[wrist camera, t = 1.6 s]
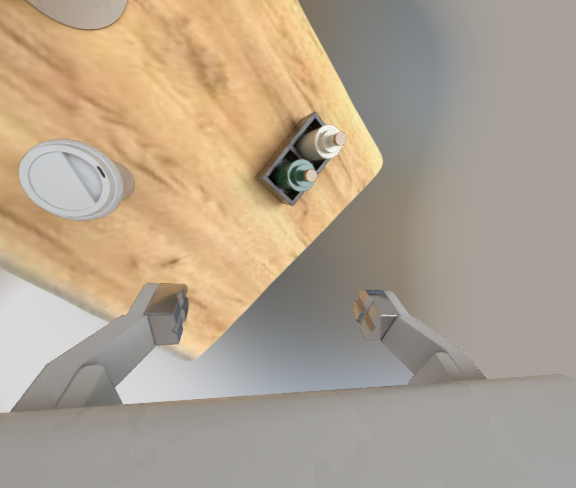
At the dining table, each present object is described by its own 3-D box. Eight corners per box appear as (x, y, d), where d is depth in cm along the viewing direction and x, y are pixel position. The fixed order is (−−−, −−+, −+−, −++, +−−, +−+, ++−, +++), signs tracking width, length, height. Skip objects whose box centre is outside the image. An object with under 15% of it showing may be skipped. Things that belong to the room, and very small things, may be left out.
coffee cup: (147, 208, 41) (123, 223, 28) (83, 207, 38) (20, 224, 25) (141, 154, 39) (112, 142, 26) (71, 148, 35) (-5, 129, 22)
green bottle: (267, 167, 47) (291, 163, 34) (290, 159, 48) (322, 152, 36) (275, 192, 49) (301, 197, 37) (297, 184, 50) (329, 186, 38)
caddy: (283, 203, 51) (292, 206, 46) (254, 177, 47) (261, 177, 42) (326, 148, 51) (341, 145, 46) (302, 118, 47) (315, 111, 42)
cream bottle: (289, 138, 47) (322, 124, 34) (312, 131, 48) (351, 115, 36) (297, 165, 49) (330, 161, 37) (318, 157, 50) (357, 151, 38)
